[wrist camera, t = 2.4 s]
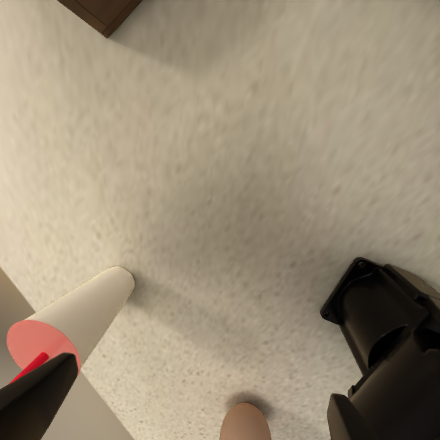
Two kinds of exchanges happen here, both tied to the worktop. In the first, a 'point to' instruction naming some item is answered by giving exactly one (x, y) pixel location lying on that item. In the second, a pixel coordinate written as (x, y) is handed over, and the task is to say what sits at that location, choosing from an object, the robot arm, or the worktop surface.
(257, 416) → the egg
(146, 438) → the worktop surface
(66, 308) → the cup
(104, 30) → the chest
